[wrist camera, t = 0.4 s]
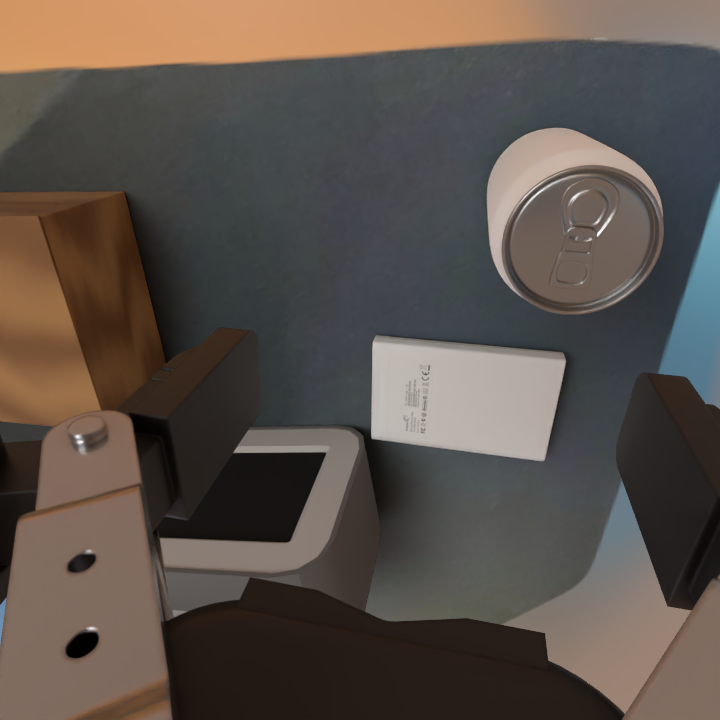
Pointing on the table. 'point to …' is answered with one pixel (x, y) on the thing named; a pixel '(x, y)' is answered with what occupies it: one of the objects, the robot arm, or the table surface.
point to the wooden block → (71, 306)
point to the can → (572, 221)
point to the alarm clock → (279, 520)
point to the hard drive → (465, 396)
